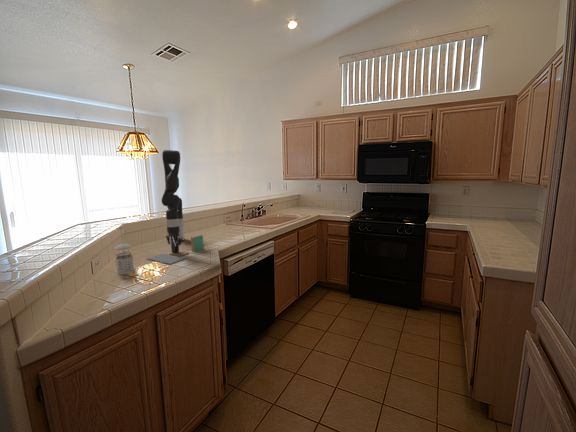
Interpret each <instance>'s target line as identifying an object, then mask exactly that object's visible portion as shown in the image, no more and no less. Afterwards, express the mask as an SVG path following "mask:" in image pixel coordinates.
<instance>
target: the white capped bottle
mask: <svg viewBox="0 0 576 432" xmlns="http://www.w3.org/2000/svg"><path fill="white" fill-rule="evenodd" d="M122 229H124V228H123V226H119V227H118V230H122ZM120 236H121V238H123V233H122V231H120ZM121 241H122V242H121V243H120V244H118V245H116V246H115V247H114V250H115V251H122V252H120V253H117V254H116V258H115V261H116V263H115V264H116V272H115V275H127V274H131V273H133V272H136V268H135V266H134V261H133V260H134V259H133V255H132V252H130V251H129V250H127V249H130V248H131V247H132V245H131V244H129V243H123V242H124V241H123V240H121ZM125 250H127V252H126V251H125Z"/></svg>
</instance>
